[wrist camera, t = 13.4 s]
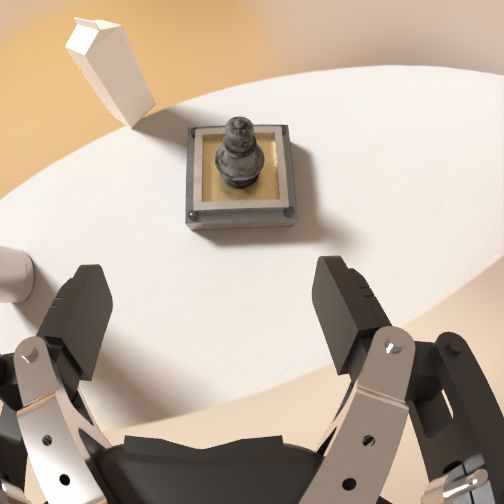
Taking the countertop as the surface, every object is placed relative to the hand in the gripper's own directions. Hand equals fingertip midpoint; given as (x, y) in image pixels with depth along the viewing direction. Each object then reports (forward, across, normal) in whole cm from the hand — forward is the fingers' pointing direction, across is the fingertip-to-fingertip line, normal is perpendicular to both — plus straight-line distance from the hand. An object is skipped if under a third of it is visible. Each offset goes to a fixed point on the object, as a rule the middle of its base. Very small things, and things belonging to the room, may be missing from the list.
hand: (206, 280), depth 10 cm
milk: (+42, +15, -4) cm, 44 cm away
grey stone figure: (+28, -3, +5) cm, 28 cm away
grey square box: (+31, -3, +7) cm, 32 cm away
